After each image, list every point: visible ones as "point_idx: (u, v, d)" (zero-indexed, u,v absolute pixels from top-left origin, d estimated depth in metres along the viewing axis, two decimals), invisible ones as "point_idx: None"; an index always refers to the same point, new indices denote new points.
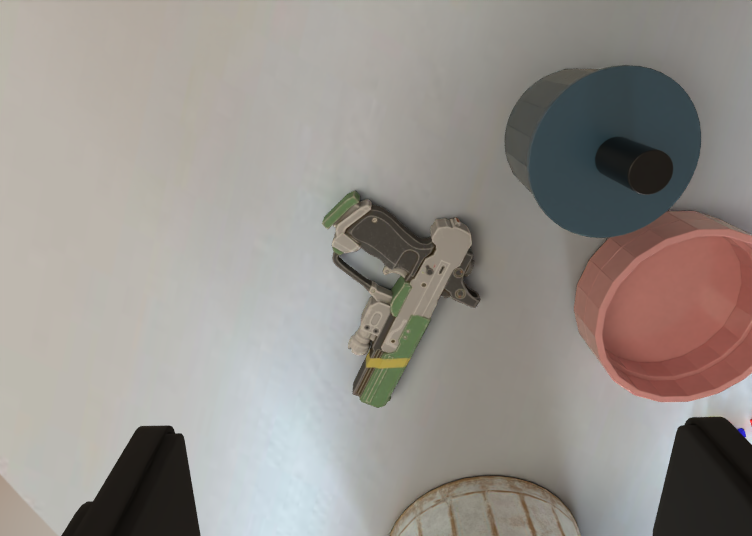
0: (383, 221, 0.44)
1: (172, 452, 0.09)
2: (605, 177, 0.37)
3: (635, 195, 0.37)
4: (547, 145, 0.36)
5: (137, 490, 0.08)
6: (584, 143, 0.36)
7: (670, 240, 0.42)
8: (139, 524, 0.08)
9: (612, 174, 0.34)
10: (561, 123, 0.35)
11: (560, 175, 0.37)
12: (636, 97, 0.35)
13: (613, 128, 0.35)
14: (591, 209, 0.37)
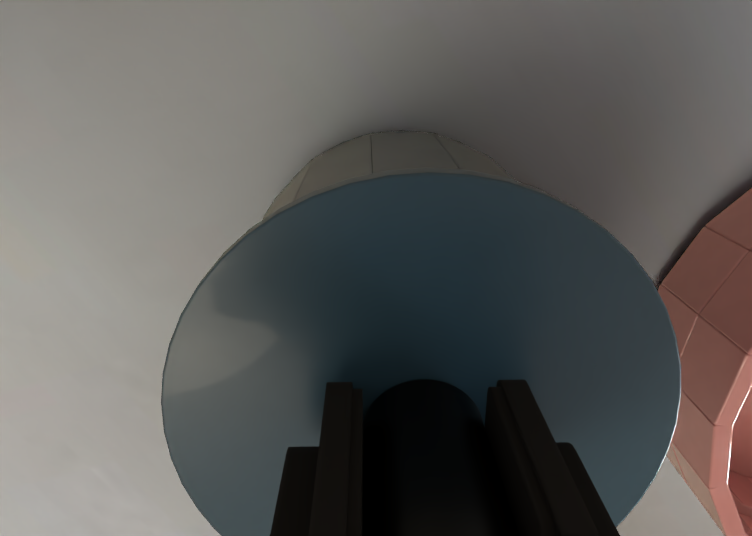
0: None
1: (362, 403, 0.11)
2: None
3: None
4: (261, 522, 0.13)
5: (350, 432, 0.10)
6: None
7: None
8: None
9: None
10: (235, 472, 0.12)
11: None
12: (321, 296, 0.11)
13: None
14: None
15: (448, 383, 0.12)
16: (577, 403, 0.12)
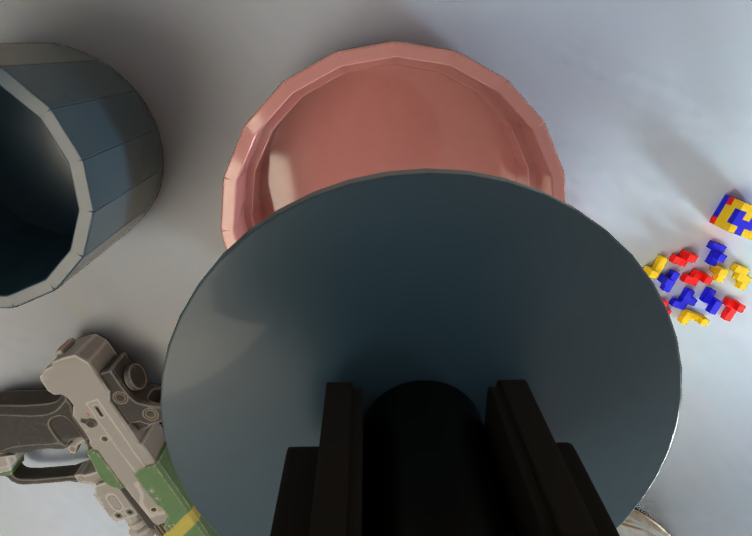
0: None
1: (362, 403, 0.11)
2: None
3: None
4: (260, 523, 0.13)
5: (350, 432, 0.10)
6: None
7: (231, 172, 0.24)
8: None
9: None
10: (234, 473, 0.12)
11: None
12: (320, 297, 0.11)
13: None
14: None
15: (448, 384, 0.12)
16: (577, 404, 0.12)
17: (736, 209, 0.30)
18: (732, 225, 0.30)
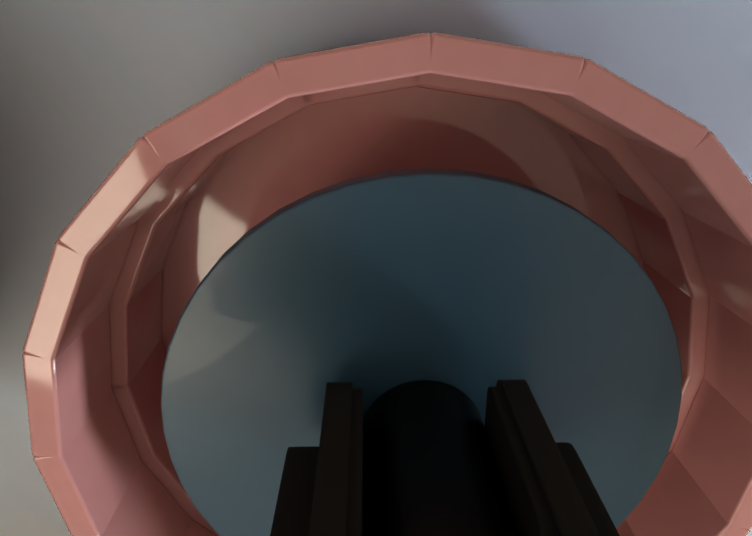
0: None
1: (362, 403, 0.11)
2: None
3: None
4: (260, 523, 0.13)
5: (350, 432, 0.10)
6: None
7: (38, 341, 0.10)
8: None
9: None
10: (235, 473, 0.12)
11: None
12: (321, 297, 0.11)
13: None
14: None
15: (448, 384, 0.12)
16: (577, 404, 0.12)
17: None
18: None
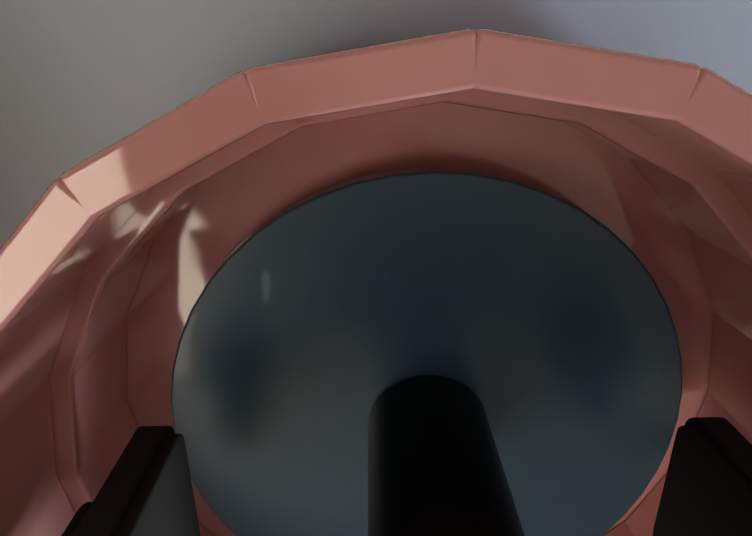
0: None
1: (172, 452, 0.09)
2: None
3: (564, 441, 0.12)
4: (268, 516, 0.13)
5: (137, 490, 0.08)
6: (333, 456, 0.13)
7: None
8: (139, 524, 0.08)
9: None
10: (243, 466, 0.13)
11: (359, 534, 0.13)
12: (328, 293, 0.11)
13: (356, 384, 0.12)
14: None
15: (453, 379, 0.12)
16: (579, 399, 0.12)
17: None
18: None
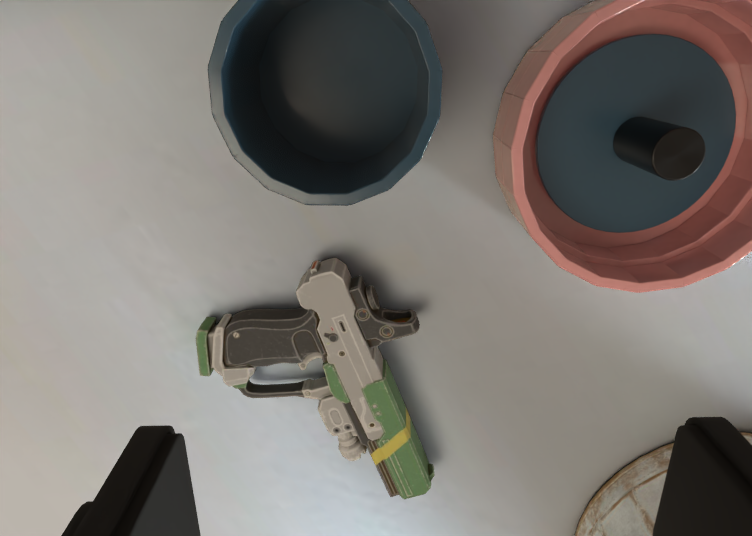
0: (244, 329, 0.36)
1: (172, 452, 0.09)
2: None
3: None
4: (564, 184, 0.33)
5: (137, 490, 0.08)
6: (596, 154, 0.32)
7: (531, 94, 0.27)
8: (139, 524, 0.08)
9: None
10: (560, 158, 0.32)
11: (599, 195, 0.33)
12: (608, 80, 0.31)
13: (611, 120, 0.31)
14: (655, 195, 0.33)
15: (648, 118, 0.31)
16: (695, 130, 0.31)
17: None
18: None
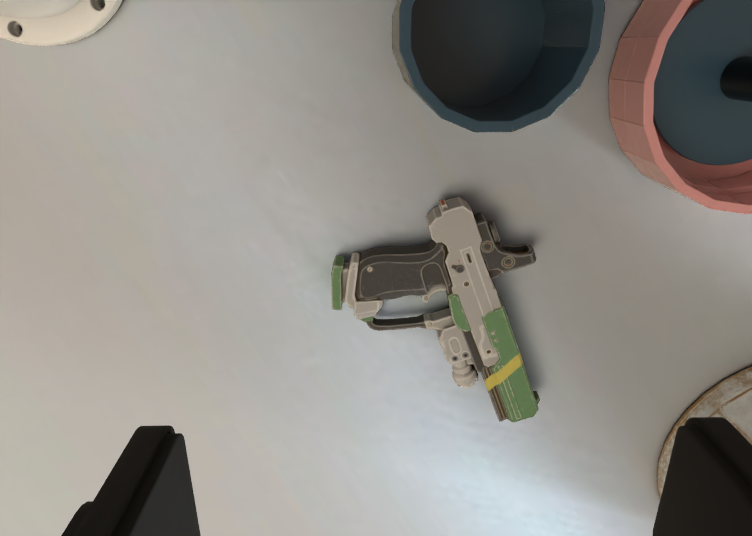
0: (378, 263, 0.39)
1: (172, 452, 0.09)
2: None
3: None
4: (674, 120, 0.36)
5: (138, 490, 0.08)
6: (704, 92, 0.36)
7: (665, 31, 0.31)
8: (139, 524, 0.08)
9: None
10: (671, 97, 0.36)
11: (704, 130, 0.37)
12: (719, 23, 0.34)
13: (719, 61, 0.35)
14: None
15: None
16: None
17: None
18: None
